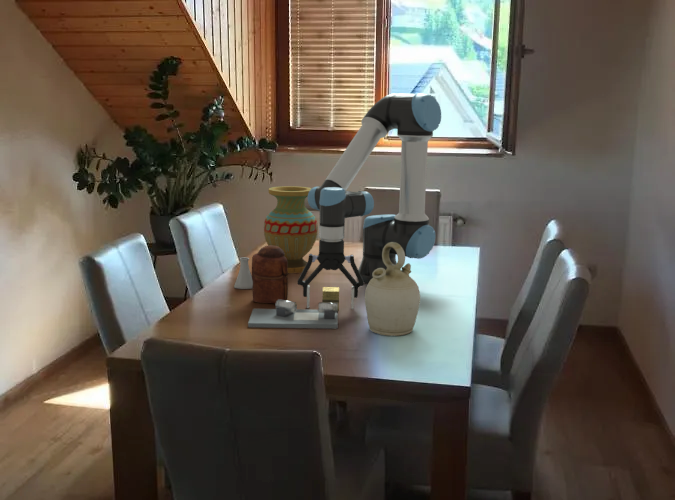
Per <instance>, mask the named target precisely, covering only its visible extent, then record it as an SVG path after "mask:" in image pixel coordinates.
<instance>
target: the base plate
mask: <svg viewBox="0 0 675 500" xmlns="http://www.w3.org/2000/svg"><path fill="white" fill-rule="evenodd" d="M338 321H339V320H338V313H335V319H324V313H318V309H310V308H306V309H304V308H303V309H302V308H298V309H296V311H295V312H293V314H291V315H289V316H287V317H281V316H276V308H252V311H251V314H250V317H249V319H248V322H247V327H248V328H272V329H273V328H274V329H275V328H278V329H279V328H281V329H283V328H285V329H287V328H288V329H332V330H333V329H338V327H339V325H338V324H339V322H338Z"/></svg>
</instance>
